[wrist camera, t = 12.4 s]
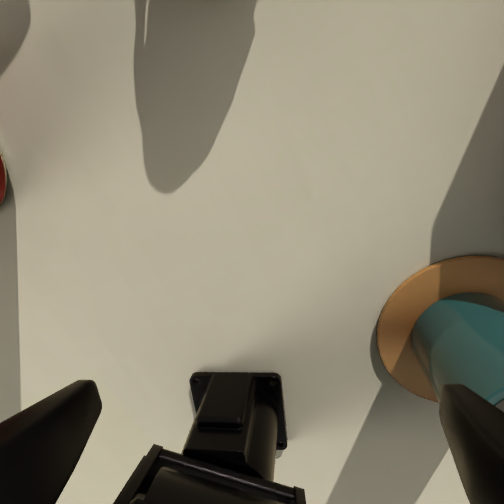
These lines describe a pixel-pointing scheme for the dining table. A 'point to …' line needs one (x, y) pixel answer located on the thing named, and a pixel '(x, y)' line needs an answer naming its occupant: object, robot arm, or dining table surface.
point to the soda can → (2, 178)
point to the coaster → (418, 300)
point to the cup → (463, 344)
